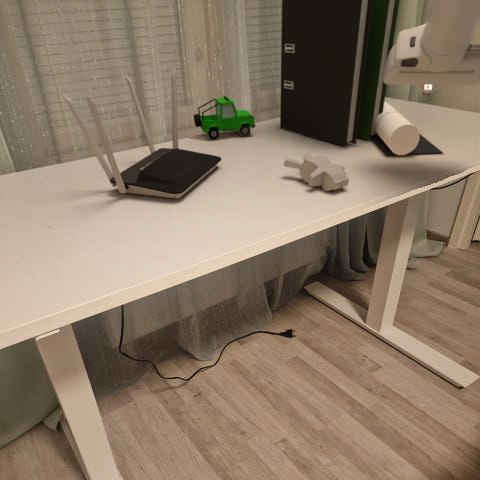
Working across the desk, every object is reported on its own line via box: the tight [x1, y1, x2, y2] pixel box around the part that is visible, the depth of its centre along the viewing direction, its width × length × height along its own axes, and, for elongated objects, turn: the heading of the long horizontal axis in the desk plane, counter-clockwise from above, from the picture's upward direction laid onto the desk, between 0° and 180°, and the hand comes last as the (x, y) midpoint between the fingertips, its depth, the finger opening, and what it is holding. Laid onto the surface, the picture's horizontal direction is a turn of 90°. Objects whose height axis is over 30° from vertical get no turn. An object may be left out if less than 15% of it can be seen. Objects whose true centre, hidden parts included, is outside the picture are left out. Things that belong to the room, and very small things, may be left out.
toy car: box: [193, 95, 256, 141], centre depth 123 cm, size 8×17×10 cm, turn 104°
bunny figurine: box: [283, 153, 350, 192], centre depth 93 cm, size 10×5×15 cm
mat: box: [370, 133, 443, 157], centre depth 115 cm, size 14×22×1 cm, turn 1°
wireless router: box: [62, 67, 222, 199], centre depth 93 cm, size 34×23×20 cm
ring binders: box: [279, 0, 400, 147], centre depth 114 cm, size 27×15×32 cm, turn 34°
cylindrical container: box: [375, 101, 421, 156], centre depth 113 cm, size 7×7×25 cm
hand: (426, 91), depth 96 cm, fingers closed
